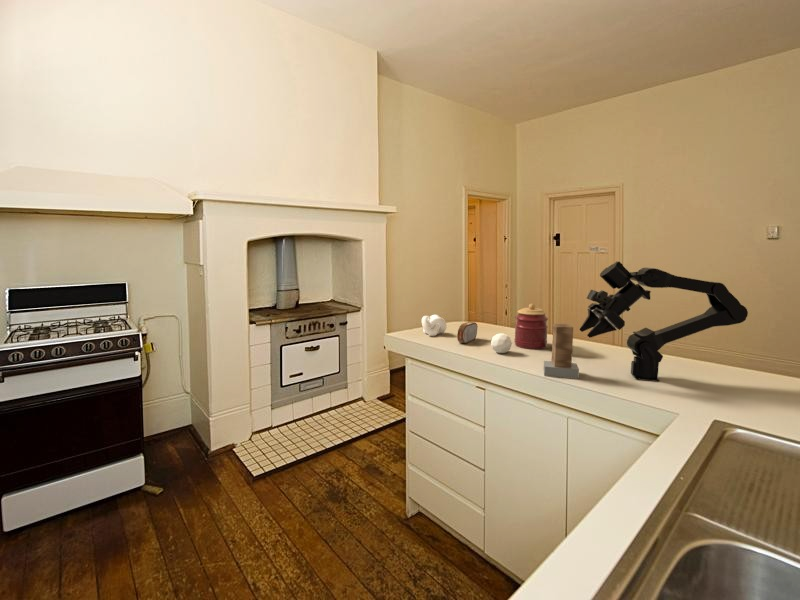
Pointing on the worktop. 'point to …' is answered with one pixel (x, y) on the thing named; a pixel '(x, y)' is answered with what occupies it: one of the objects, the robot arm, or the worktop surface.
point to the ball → (501, 343)
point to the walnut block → (562, 345)
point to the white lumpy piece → (433, 325)
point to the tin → (467, 332)
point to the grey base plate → (561, 370)
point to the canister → (531, 328)
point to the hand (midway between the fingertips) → (584, 333)
